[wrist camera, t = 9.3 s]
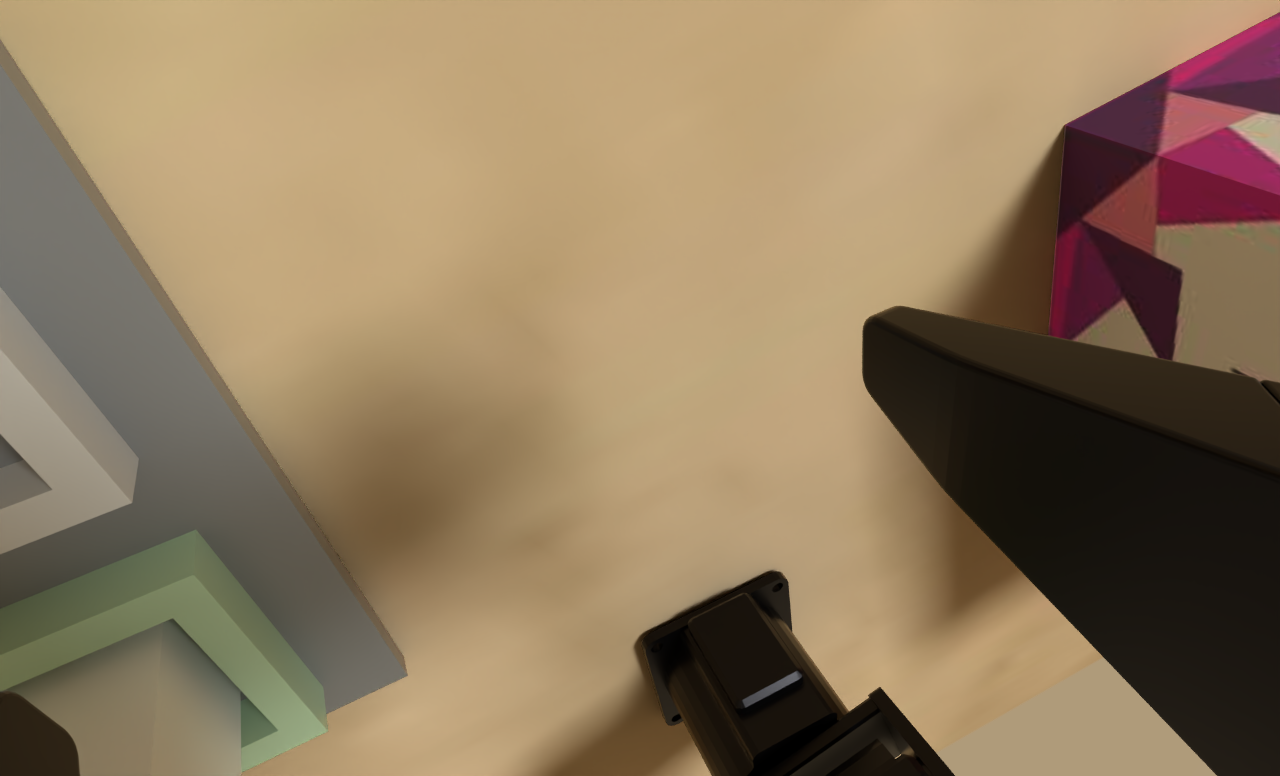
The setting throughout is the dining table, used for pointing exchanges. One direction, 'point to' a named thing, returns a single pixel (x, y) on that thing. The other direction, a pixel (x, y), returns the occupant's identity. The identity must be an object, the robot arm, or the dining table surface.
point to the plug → (145, 707)
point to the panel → (147, 471)
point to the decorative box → (1178, 214)
